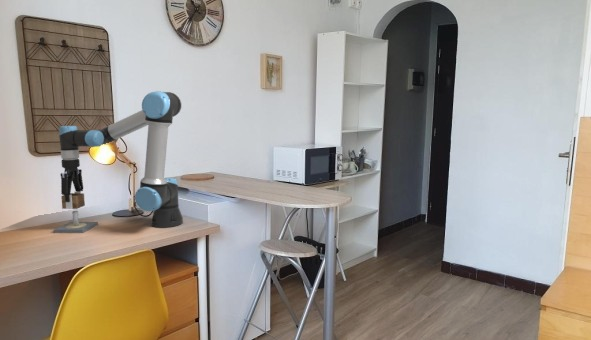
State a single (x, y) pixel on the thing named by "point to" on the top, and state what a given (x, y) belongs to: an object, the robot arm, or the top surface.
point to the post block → (75, 225)
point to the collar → (74, 200)
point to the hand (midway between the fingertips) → (74, 206)
